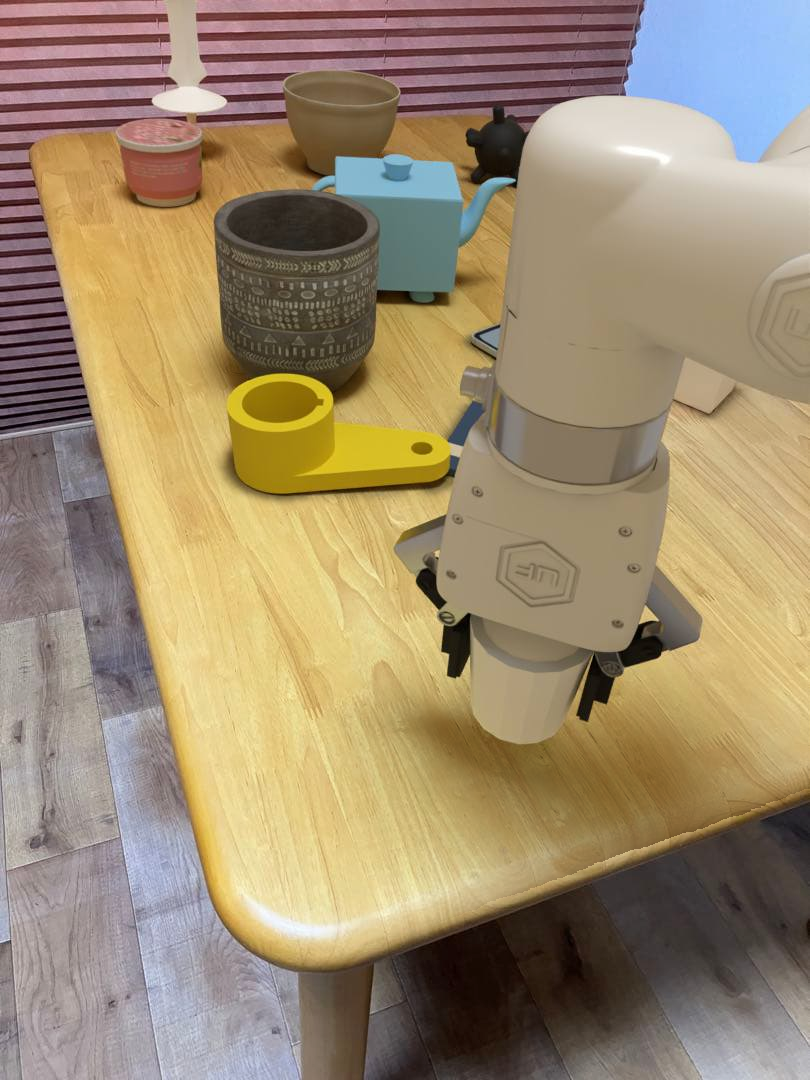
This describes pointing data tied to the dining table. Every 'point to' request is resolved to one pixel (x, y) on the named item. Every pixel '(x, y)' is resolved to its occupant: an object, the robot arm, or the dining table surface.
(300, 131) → the planter bowl
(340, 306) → the planter
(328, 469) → the crank
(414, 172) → the teapot
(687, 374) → the milk
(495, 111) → the toy ball
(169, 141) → the container
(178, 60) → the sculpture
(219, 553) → the dining table surface
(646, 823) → the dining table surface
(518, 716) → the white cup
